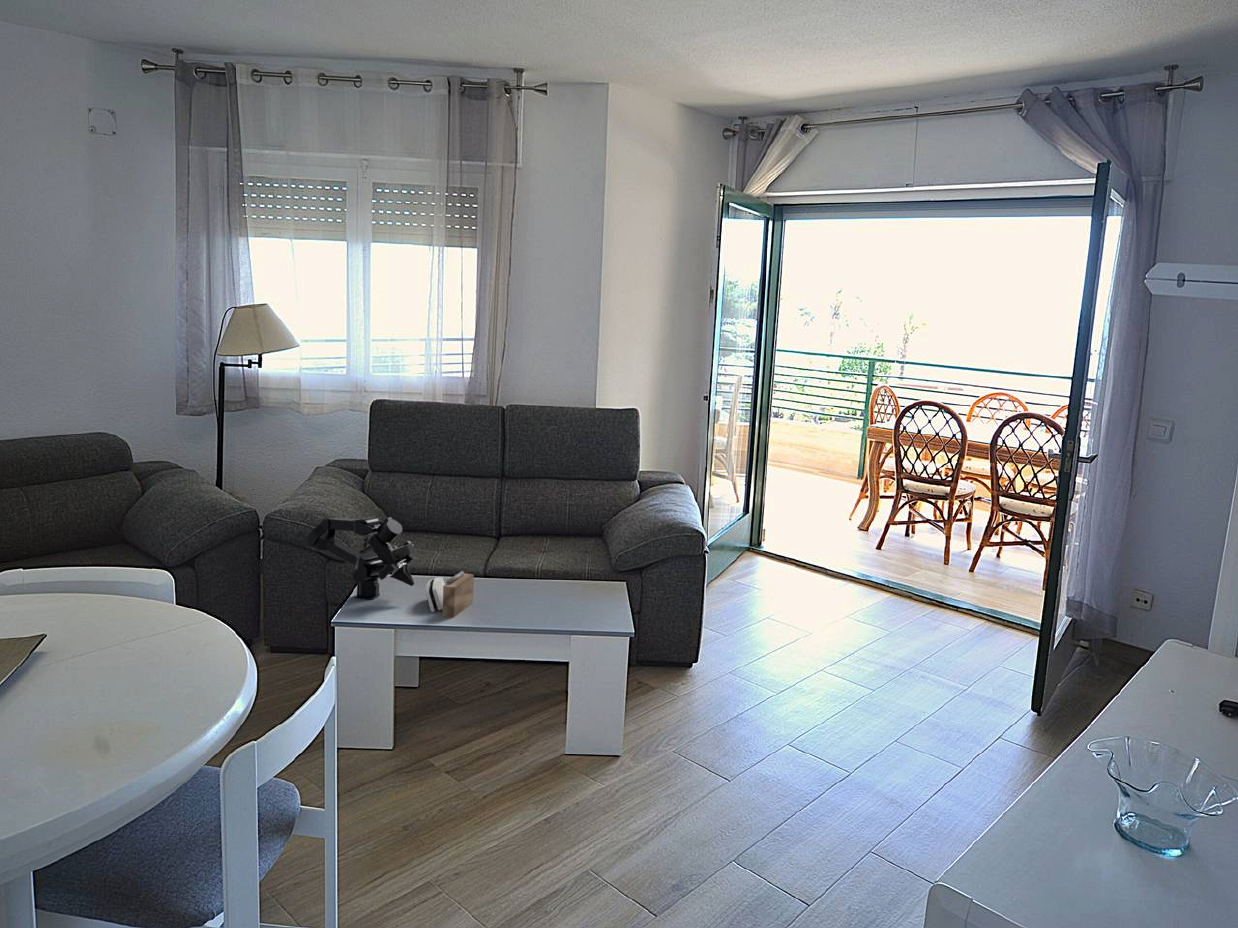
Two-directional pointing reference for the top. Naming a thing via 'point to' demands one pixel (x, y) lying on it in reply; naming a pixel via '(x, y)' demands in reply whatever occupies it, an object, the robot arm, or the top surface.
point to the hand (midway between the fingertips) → (413, 584)
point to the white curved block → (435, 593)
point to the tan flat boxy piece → (457, 594)
